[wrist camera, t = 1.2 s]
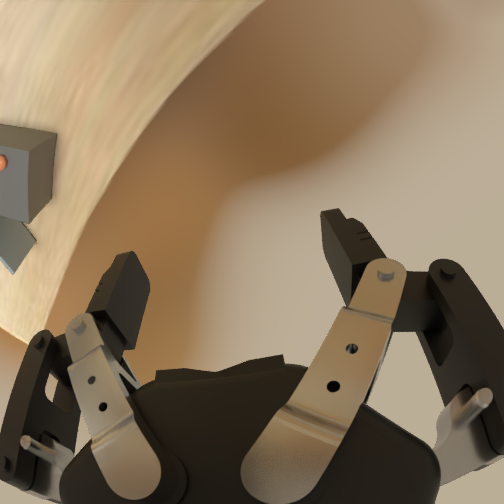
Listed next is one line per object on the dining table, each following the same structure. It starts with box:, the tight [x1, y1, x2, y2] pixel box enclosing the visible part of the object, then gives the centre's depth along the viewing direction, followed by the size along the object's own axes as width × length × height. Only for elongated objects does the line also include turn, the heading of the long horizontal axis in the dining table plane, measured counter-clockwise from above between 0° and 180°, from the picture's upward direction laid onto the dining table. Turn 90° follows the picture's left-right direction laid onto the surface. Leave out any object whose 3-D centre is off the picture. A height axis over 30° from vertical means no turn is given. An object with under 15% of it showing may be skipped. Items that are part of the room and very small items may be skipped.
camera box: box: [0, 124, 57, 224], centre depth 26 cm, size 10×14×8 cm
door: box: [0, 215, 36, 275], centre depth 30 cm, size 2×12×8 cm, turn 23°
